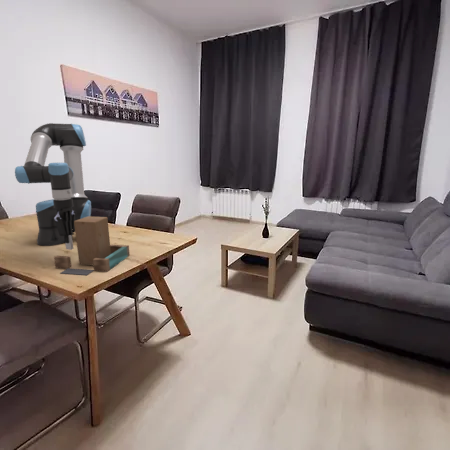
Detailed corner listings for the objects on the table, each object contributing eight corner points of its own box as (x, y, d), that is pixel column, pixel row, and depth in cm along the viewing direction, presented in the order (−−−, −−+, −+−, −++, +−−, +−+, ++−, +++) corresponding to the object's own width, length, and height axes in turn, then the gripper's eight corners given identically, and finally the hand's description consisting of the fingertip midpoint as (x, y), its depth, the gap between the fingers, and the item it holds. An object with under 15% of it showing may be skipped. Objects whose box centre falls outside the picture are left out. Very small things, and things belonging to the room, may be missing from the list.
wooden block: (99, 266, 126) (94, 221, 121) (78, 264, 128) (73, 220, 123) (111, 258, 136) (107, 216, 131) (92, 256, 137) (87, 216, 132)
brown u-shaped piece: (55, 268, 124) (53, 257, 122) (84, 252, 143) (83, 243, 142) (107, 271, 120) (106, 260, 119) (129, 255, 140) (128, 245, 138)
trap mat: (60, 273, 118) (60, 272, 118) (68, 268, 123) (68, 268, 123) (87, 275, 116) (86, 274, 116) (94, 270, 121) (94, 269, 121)
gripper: (60, 201, 120) (67, 254, 126) (79, 196, 132) (85, 244, 138) (44, 200, 121) (52, 253, 127) (65, 195, 133) (71, 243, 139)
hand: (69, 248), depth 133 cm, fingers closed
